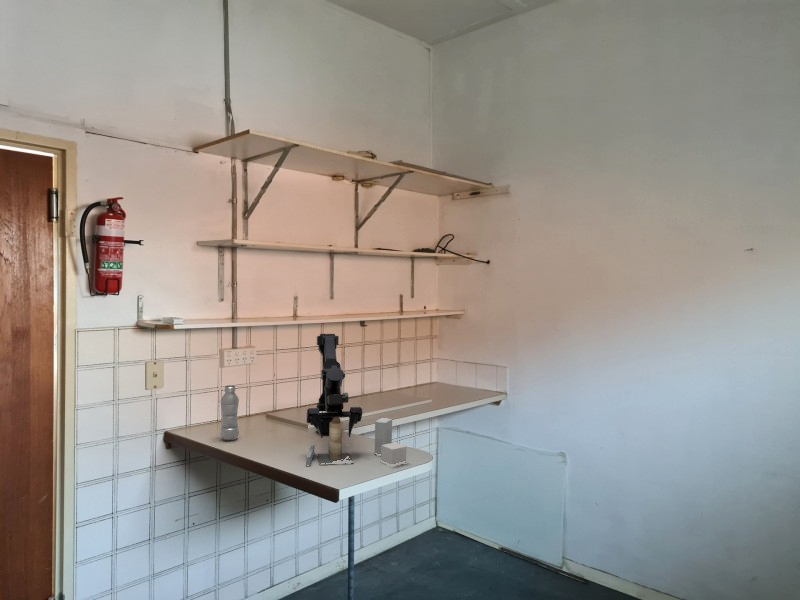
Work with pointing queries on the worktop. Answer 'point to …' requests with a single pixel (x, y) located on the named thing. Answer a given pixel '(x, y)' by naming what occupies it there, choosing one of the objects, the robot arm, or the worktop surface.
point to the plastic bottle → (229, 414)
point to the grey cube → (393, 453)
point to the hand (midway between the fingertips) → (335, 437)
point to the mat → (324, 459)
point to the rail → (310, 454)
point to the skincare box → (382, 433)
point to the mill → (335, 439)
